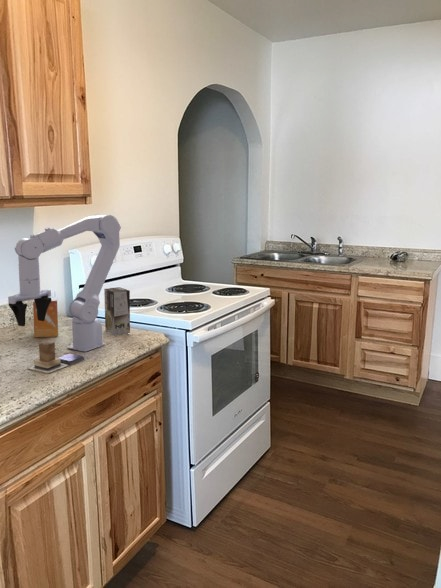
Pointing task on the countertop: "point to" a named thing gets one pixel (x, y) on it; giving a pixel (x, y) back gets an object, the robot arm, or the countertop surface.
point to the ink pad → (71, 359)
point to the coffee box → (117, 311)
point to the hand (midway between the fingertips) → (31, 323)
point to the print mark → (48, 370)
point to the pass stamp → (47, 356)
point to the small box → (46, 321)
